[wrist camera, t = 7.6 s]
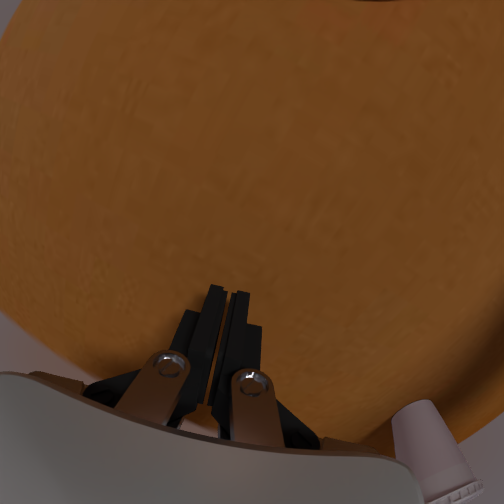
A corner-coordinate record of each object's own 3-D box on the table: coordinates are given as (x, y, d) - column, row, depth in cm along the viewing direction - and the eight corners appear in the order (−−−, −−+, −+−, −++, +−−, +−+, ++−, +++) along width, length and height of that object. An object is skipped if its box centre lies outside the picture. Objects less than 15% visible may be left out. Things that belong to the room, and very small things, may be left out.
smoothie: (398, 439, 19) (424, 565, 6) (360, 425, 18) (383, 584, 5) (456, 399, 17) (503, 529, 4) (429, 378, 15) (487, 548, 3)
